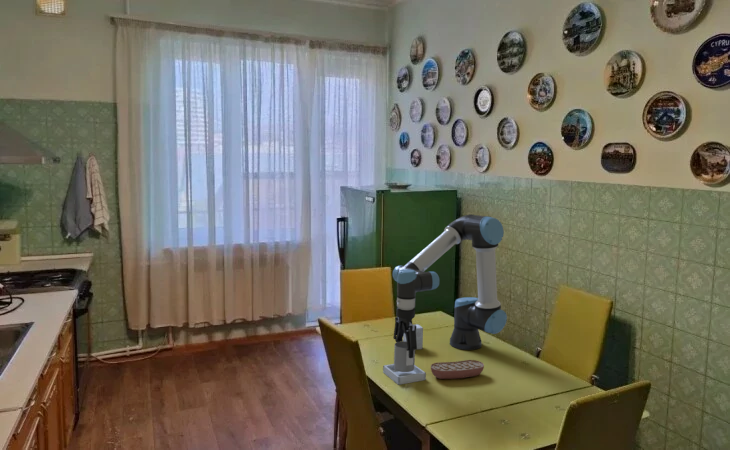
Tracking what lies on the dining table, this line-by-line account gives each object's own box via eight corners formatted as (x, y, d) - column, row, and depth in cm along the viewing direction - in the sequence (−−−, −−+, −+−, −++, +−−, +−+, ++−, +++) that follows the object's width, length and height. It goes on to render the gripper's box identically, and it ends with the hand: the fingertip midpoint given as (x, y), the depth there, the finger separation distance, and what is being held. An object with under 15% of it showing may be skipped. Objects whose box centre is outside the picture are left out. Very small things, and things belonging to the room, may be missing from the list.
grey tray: (409, 367, 236) (409, 361, 236) (425, 379, 224) (425, 372, 223) (383, 372, 231) (383, 365, 230) (398, 384, 219) (398, 377, 218)
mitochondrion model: (477, 370, 235) (478, 359, 235) (488, 379, 226) (488, 367, 225) (427, 374, 230) (427, 363, 229) (435, 384, 220) (436, 372, 220)
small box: (418, 345, 265) (418, 324, 263) (422, 349, 259) (423, 327, 258) (402, 346, 262) (403, 325, 261) (407, 350, 257) (407, 329, 256)
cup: (412, 373, 222) (413, 349, 221) (392, 370, 224) (393, 347, 222) (415, 365, 230) (416, 342, 229) (396, 363, 232) (396, 340, 231)
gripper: (386, 302, 231) (384, 353, 234) (410, 315, 213) (408, 371, 215) (401, 300, 235) (400, 351, 237) (427, 313, 216) (425, 368, 218)
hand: (404, 361), depth 226 cm, fingers closed on cup, 8 cm apart
